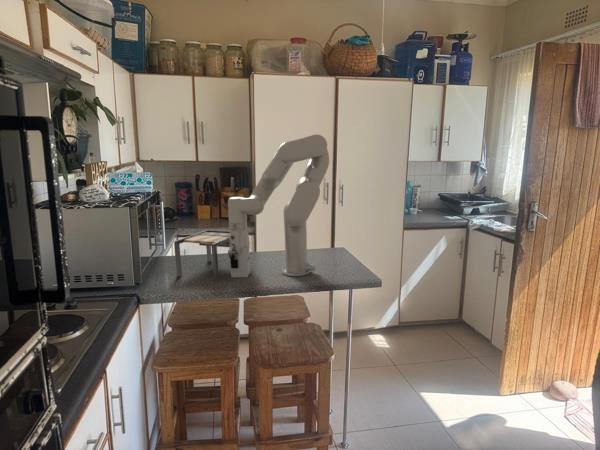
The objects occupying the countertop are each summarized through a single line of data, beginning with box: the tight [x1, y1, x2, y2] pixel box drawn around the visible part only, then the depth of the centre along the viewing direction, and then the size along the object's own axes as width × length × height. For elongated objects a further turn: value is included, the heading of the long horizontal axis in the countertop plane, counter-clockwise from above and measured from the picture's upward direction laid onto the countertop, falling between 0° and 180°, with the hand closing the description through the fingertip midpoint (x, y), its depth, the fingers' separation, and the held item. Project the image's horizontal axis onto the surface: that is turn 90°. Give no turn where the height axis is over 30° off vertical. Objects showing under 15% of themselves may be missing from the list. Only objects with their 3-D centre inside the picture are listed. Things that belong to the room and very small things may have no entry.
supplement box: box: [229, 246, 251, 278], centre depth 170 cm, size 7×7×13 cm
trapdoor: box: [183, 232, 230, 248], centre depth 176 cm, size 16×17×5 cm
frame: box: [173, 229, 230, 282], centre depth 177 cm, size 20×25×16 cm
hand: (240, 264), depth 170 cm, fingers closed on supplement box, 8 cm apart
